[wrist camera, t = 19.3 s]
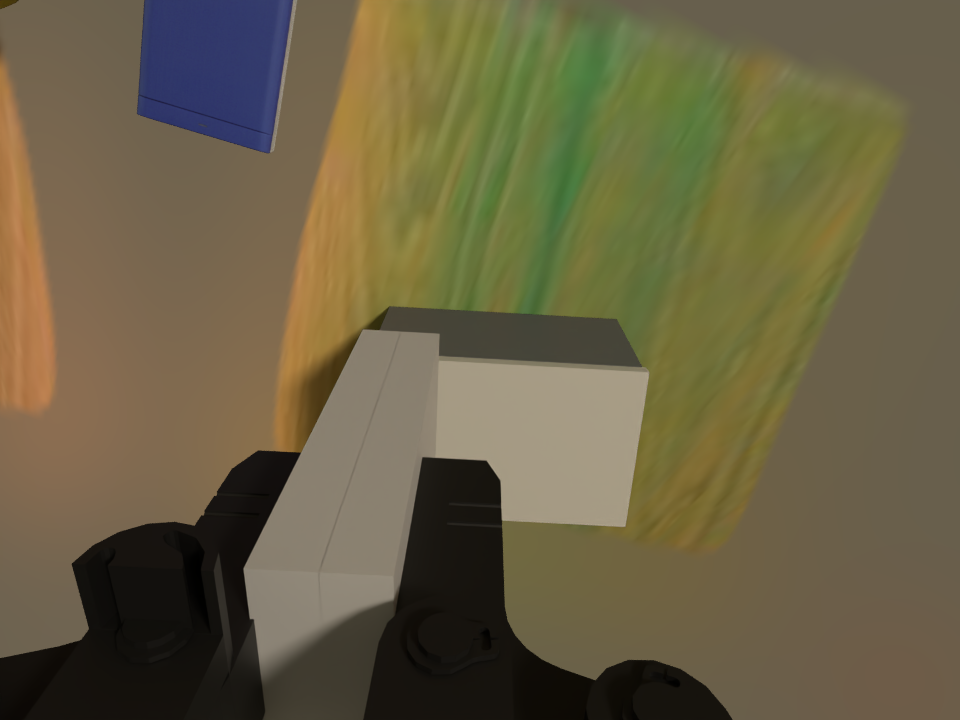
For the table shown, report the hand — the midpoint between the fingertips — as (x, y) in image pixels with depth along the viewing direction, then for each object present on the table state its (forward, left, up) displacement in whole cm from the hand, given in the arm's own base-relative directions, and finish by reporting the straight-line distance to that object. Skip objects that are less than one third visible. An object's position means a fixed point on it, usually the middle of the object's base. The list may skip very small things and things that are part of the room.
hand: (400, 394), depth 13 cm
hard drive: (-16, +2, -31) cm, 35 cm away
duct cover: (+8, -12, -22) cm, 26 cm away
